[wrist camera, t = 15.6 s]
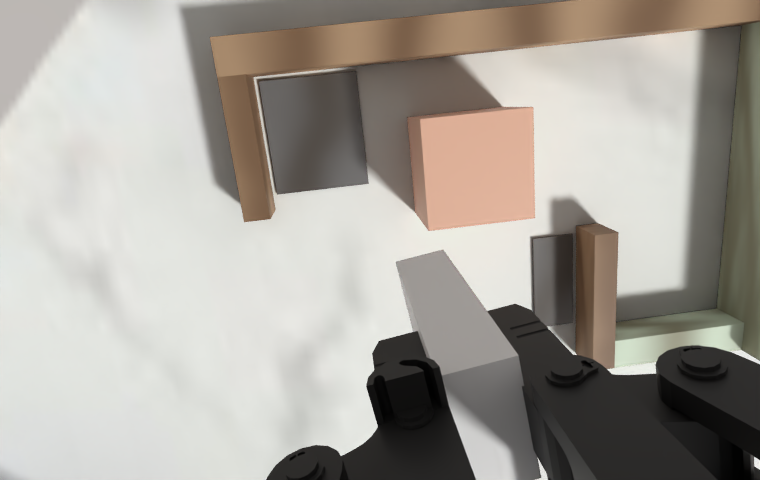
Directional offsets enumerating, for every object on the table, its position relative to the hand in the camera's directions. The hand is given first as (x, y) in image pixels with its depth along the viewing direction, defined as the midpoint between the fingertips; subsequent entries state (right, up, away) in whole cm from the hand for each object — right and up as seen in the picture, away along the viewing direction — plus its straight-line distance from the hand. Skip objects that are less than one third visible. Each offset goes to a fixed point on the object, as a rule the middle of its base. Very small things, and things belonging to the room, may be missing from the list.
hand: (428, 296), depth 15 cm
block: (+3, +7, +16) cm, 18 cm away
